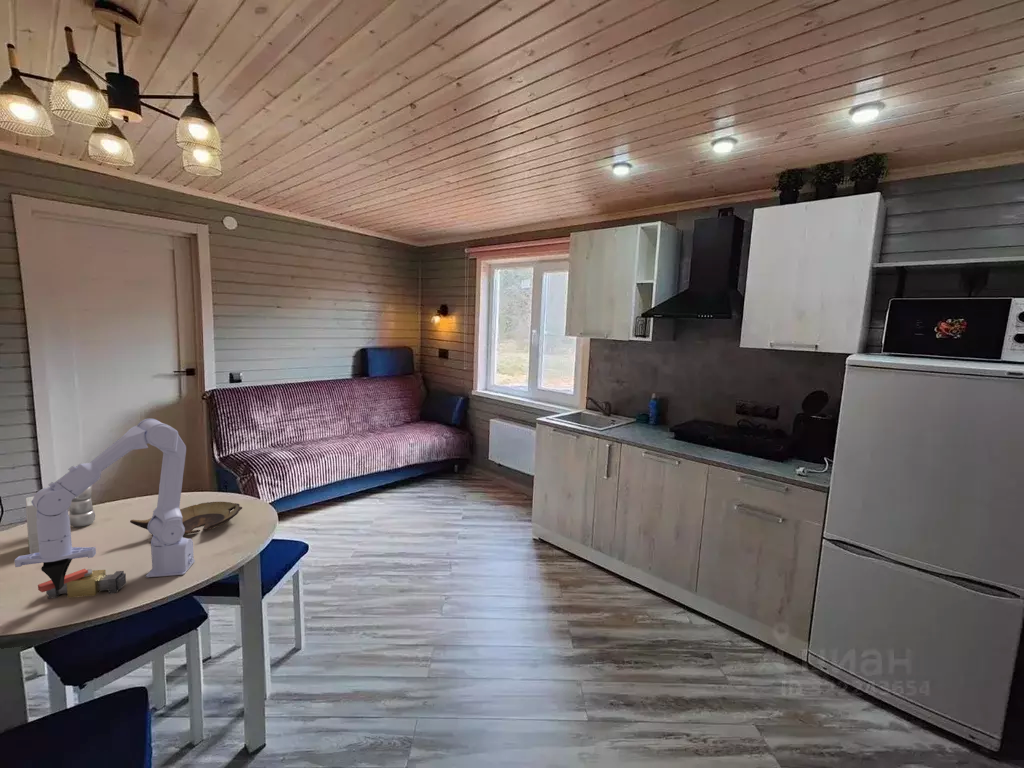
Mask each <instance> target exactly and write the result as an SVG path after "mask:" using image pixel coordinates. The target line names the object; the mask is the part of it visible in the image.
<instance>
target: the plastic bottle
mask: <svg viewBox="0 0 1024 768" xmlns="http://www.w3.org/2000/svg"><path fill="white" fill-rule="evenodd" d="M92 489H93V485H91V486H90V487H89V488H88V489H86V490H85V491H84V492H82V493H81V494H80V495H79V496H77V497H76V498H74V499H72V501H71V505H70V507H69V513H68V515H69V519H70V527H73V528H81V527H85V526H88V525H91V524H92V523H94V522H95V519H96V513H95V510H94V506H93V503H92Z"/></svg>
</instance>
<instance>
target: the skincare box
mask: <svg viewBox="0 0 1024 768" xmlns="http://www.w3.org/2000/svg"><path fill="white" fill-rule="evenodd" d="M33 498H34V496H28V497H26V498H25V513H26V527H27V528H26V529H27V540H28V541H27V542H28V550H29V551H28V552H29V554H33V553H38V552H39V544H38V534H37V524H36V522H37V518H36V514H37V512H36V511H37V510H38V509H37V508H35V507H34V506H33V504H32V502H31V501H32V500H33Z"/></svg>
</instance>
